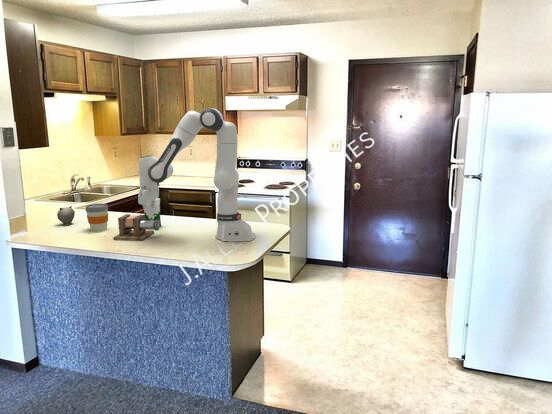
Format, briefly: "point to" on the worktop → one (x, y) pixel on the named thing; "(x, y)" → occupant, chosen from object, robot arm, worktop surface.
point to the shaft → (146, 225)
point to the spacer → (130, 220)
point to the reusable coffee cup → (97, 216)
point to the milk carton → (153, 212)
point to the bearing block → (132, 234)
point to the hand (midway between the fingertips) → (149, 209)
